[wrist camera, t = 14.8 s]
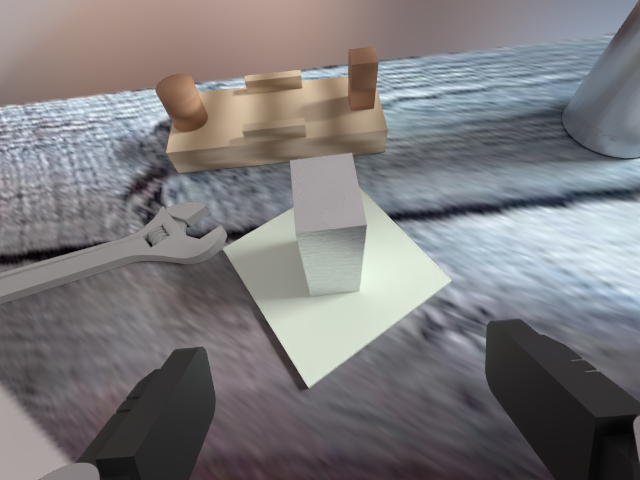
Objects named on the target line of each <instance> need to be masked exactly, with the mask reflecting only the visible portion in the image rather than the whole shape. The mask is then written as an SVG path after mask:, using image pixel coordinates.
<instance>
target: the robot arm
mask: <svg viewBox="0 0 640 480" xmlns="http://www.w3.org/2000/svg"><path fill="white" fill-rule="evenodd" d="M562 121H563V124H564V127H565V129H566V130H567V132H568V133H569V134H570V135H571V136H572V137H573V138H574V139H575V140H576V141H577V142H579V143H580V144H582V145H583V146H585V147H587V148H589V149H591V150H593V151H595V152H598V153H601V154H604V155H608V156H612V157H619V158H636V157H640V0H639V1H638V2H637V4H636V5H635V6H634V8H633V9H632V11H631V13H630V14H629V15H628V17H627V18H626V20H625V21H624V23H623V24H622V26H621V27H620V28H619V30H618V32H617V33H616V34H615V36H614V37H613V39H612V40H611V42H610V43H609V45H608V46H607V48H606V49H605V51H604V52H603V53H602V55H601V56H600V58H599V59H598V61H597V62H596V64H595V65H594V67H593V68H592V70H591V71H590V73H589V74H588V75H587V77H586V78H585V80H584V81H583V83H582V84H581V85H580V87H579V88H578V90H577V91H576V93H575V94H574V96H573V97H572V99H571V100H570V102H569V103H568V105H567V106H566V108H565V109H564V112H563V114H562ZM485 373H486V378H487V382H488V385H489V388H490V390H491V392H492V393H493V395H494V396H495V398H496V399H497V400H498V402H499V403H500V404H501V406H502V407H503V409H504V410H505V411H506V413H507V414H508V415H509V417H510V418H511V419H512V421H513V422H514V424H515V425H516V426H517V428H518V429H519V430H520V432H521V433H522V435H523V436H524V437H525V439H526V440H527V441H528V443H529V444H530V445H531V447H532V448H533V450H534V451H535V452H536V454H537V455H538V456H539V458H540V459H541V460H542V462H543V463H544V465H545V466H546V467H547V469H548V470H549V471H550V473H551V474H552V476H553V477H554V478H555V480H640V402H638V401H637V400H636V399H635V398H633V397H632V396H631V395H629V394H628V393H627V392H625V391H624V390H623V389H622V388H620V387H619V386H618V385H616V384H615V383H614V382H613V381H611V380H610V379H609V378H607V377H606V376H605V375H603V374H602V373H601V372H597V371H596V368H594V367H593V366H592V365H591V364H589V363H588V362H587V361H585V360H584V361H583V360H582V358H581V357H580V356H579V355H578V354H576V353H575V352H574V351H572V350H571V349H570V348H569V347H567V346H566V345H564V344H562V343H560V342H558V341H556V340H553V339H551V338H549V337H547V336H545V335H539V334H538V333H537V332H536V331H535V330H533V329H532V328H531V327H530V326H528V325H527V324H526V323H525V322H524V321H522V320H521V319H508V320H497V321H490V322H489V323H488V325H487V331H486V361H485ZM215 401H216V400H215V391H214V386H213V381H212V376H211V371H210V366H209V362H208V357H207V353H206V350H205V349H204V348H203V347H195V348H184V349H176V350H174V351H173V352H172V354H171V355H170V356H169V358H168V359H167V360H166V362H165V363H164V365H163V366H162V367H161V369H155V370H154V371H153V372H151V373H150V374H149V375H147V376H146V377H145V378H144V379H142V380H141V381H140V382H138V383H137V385H136V386H135V387H134V389H133V390H132V391H131V392H130V394H129V395H128V396H127V399H126V401H124V402H123V403H122V404H121V405H120V407H119V408H118V409H117V412H116V414H113V416H112V417H111V418H110V420H109V421H108V422H107V423H106V425H105V426H104V427H103V429H102V430H101V431H100V433H99V434H98V435H97V436H96V438H95V439H94V440H93V442H92V443H91V444H90V445H89V447H88V448H87V449H86V451H85V452H84V453H83V454H82V456H81V457H80V458H79V460H78V461H77V462H76V463H75V464H71V465H67V466H64V467H61V468H59V469H57V470H55V471H52V472H51V473H49V474H47V475H45V476H44V477H42V478H41V479H39V480H189V478H190V476H191V473H192V471H193V468H194V465H195V463H196V460H197V458H198V455H199V453H200V450H201V447H202V445H203V442H204V440H205V437H206V435H207V432H208V429H209V427H210V424H211V422H212V419H213V416H214V412H215Z"/></svg>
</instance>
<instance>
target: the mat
mask: <svg viewBox="0 0 640 480" xmlns="http://www.w3.org/2000/svg"><path fill="white" fill-rule="evenodd" d="M359 188H360V187H359ZM360 193H361V198H362V203H363V208H364V213H365V217H366V222H367V230H366V239H365V248H364V257H363V266H362V275H361V284H360V291H357V292H348V293H340V294H332V295H323V296H315V297H311V296H310V291H309V287H308V283H307V279H306V275H305V271H304V267H303V262H302V258H301V254H300V250H299V246H298V242H297V237H296V233H295V220H294V207H293V208H291V209H289V210H288V211H286V212H284V213H283V214H281V215H279V216H277V217H276V218H274V219H272V220H271V221H269V222H267V223H265V224H264V225H262V226H260V227H259V228H257V229H255V230H254V231H252V232H250V233H248V234H247V235H245V236H243V237H242V238H240V239H238V240H236V241H235V242H233V243H231V244H230V245H228V246H226V247H224V248H223V250H224V252H225V253H226V255H227V257H228V258H229V260H230V261H231V263H232V265H233V266H234V268H235V270H236V271H237V273H238V274H239V276H240V278H241V279H242V281H243V282H244V284H245V286H246V287H247V289H248V291H249V292H250V294H251V295H252V297H253V299H254V300H255V302H256V304H257V305H258V307H259V308H260V310H261V312H262V313H263V315H264V316H265V318H266V320H267V321H268V323H269V325H270V326H271V328H272V329H273V331H274V333H275V334H276V336H277V338H278V339H279V341H280V342H281V344H282V346H283V347H284V349H285V350H286V352H287V354H288V355H289V357H290V359H291V360H292V362H293V363H294V365H295V367H296V368H297V370H298V372H299V373H300V375H301V376H302V378H303V380H304V381H305V383H306V385H307V386H308V388H311V387H312V386H313V385H315V384H316V383H317V382H319V381H320V380H321V379H323V378H324V377H325V376H327V375H328V374H329V373H331V372H332V371H333V370H335V369H336V368H337V367H339V366H340V365H342V364H343V363H344V362H346V361H347V360H348V359H350V358H351V357H352V356H354V355H355V354H356V353H358V352H359V351H360V350H362V349H363V348H364V347H366V346H367V345H368V344H370V343H371V342H372V341H374V340H375V339H376V338H378V337H379V336H380V335H382V334H383V333H384V332H386V331H387V330H388V329H390V328H391V327H392V326H394V325H395V324H396V323H398V322H399V321H400V320H402V319H403V318H404V317H406V316H407V315H408V314H410V313H411V312H412V311H414V310H415V309H416V308H418V307H419V306H420V305H422V304H423V303H424V302H426V301H427V300H428V299H430V298H431V297H432V296H434V295H435V294H436V293H438V292H439V291H440V290H442V289H443V288H444V287H446V286H447V285H448V284H450V282H451V281H452V280H451V279H450V278H449V277H448V276H447V275H446V274H445V273H444V272H443V271H442V270H441V269H440V268H439V267H438V266H437V265H436V264H435V263H434V262H433V261H432V260H431V259H430V258H429V257H428V256H427V255H426V254H425V253H424V252H423V251H422V250H421V249H420V248H419V247H418V246H417V245H416V244H415V243H414V242H413V241H412V240H411V239H410V238H409V237H408V236H407V235H406V234H405V233H404V232H403V231H402V230H401V229H400V228H399V227H398V226H397V225H396V224H395V223H394V222H393V221H392V220H391V219H390V217H389V216H388V215H387V214H386V213H385V212H384V211H383V210H382V209H381V208H380V207H379V206H378V205H377V204H376V203H375V202H374V201H373V200H372V199H371V198H370V197H369V196H368V195H367V194H366V193H365V192H364V191H363V190H362V189H361V188H360Z"/></svg>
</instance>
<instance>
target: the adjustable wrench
mask: <svg viewBox="0 0 640 480" xmlns="http://www.w3.org/2000/svg"><path fill="white" fill-rule="evenodd" d="M210 214H211V213H210V212H209V210H208V208H207V207H206V205H205V204H204V203H199V202H187V203H181V204H177V205H174V206H171V207H168V208H166V209H165V207H164V206H163V207H161V208H160V210H159V213H157V214H156V215H155V218H154V219H153V220H152V221H150V222H149V223H148V224H147V225H146V226H145V227H144V228H142V229H141V230H139V231H138V232H136V233H134V234H132V235H130V236H127V237H125V238H122V239H118V240H115V241H111V242H108V243H104V244H101V245H97V246H94V247H90V248H87V249H83V250H80V251H76V252H73V253H69V254H65V255H62V256H58V257H55V258H51V259H48V260H44V261H41V262H37V263H34V264H30V265H27V266H23V267H20V268H16V269H13V270H9V271H6V272H2V273H0V304H3V303H6V302H9V301H12V300H15V299H19V298H22V297H25V296H28V295H31V294H35V293H38V292H41V291H44V290H47V289H51V288H54V287H57V286H60V285H63V284H67V283H70V282H73V281H76V280H79V279H82V278H86V277H89V276H92V275H95V274H98V273H102V272H105V271H108V270H111V269H114V268H118V267H121V266H124V265H127V264H130V263H135V262H139V261H165V262H174V263H181V264H197V263H201V262H203V261H206V260H207V259H209V258H211V257H212V256H214V255H215V254H216V253H217V252H218V251H219V250H220V249H221V247H222V246H223V245H224V243H225V241H226V238H227V233H226V231H225V230H224V228H223V226H222V225H220V226H218V227H217V228H216V229H214V230H213V231H211V232H210V233H208V234H207V235H205V236H204V237H202V238H201V239H197V238H193V237H190V236H186V227H187V226H190V227H191V226H193V225H194V224H196V223H197V222H199V221H200V220H202V219H203V218H205V217H206V216H208V215H210ZM149 242H151V244H152V246H153V247H151V245H150V244H149Z"/></svg>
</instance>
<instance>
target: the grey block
mask: <svg viewBox="0 0 640 480" xmlns="http://www.w3.org/2000/svg"><path fill="white" fill-rule="evenodd" d="M290 169H291V181H292V194H293V207H294V220H295V233H296V237H297V242H298V246H299V250H300V254H301V258H302V262H303V267H304V271H305V275H306V279H307V283H308V287H309V291H310V296H311V297H315V296H323V295H332V294H340V293H348V292H357V291H360V284H361V275H362V266H363V257H364V248H365V239H366V230H367V222H366V217H365V213H364V208H363V203H362V198H361V193H360V188H359V184H358V179H357V174H356V169H355V164H354V159H353V155H352V153H346V154H338V155H330V156H322V157H313V158H305V159H297V160H290Z"/></svg>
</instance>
